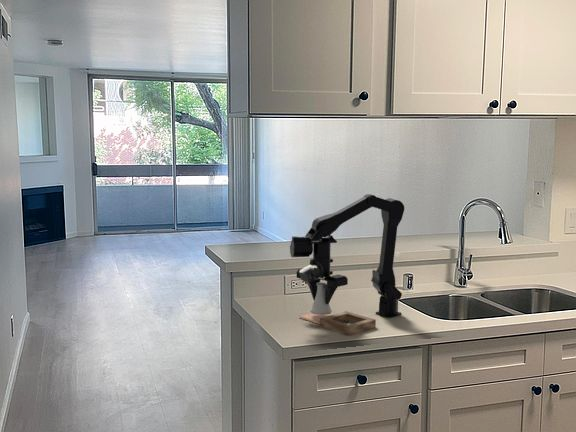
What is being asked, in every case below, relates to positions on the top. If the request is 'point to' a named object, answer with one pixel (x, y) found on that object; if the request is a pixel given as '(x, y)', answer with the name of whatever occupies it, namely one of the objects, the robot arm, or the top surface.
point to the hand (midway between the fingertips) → (321, 302)
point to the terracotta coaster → (314, 317)
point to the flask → (320, 301)
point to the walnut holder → (335, 324)
